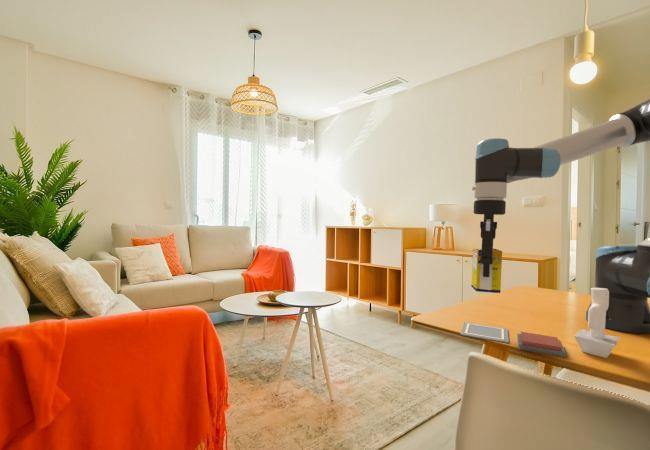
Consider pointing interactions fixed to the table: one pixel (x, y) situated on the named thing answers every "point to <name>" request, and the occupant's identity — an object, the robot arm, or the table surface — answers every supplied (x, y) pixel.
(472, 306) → the table surface
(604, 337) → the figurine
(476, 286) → the supplement box
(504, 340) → the marked card
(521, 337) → the ink pad
